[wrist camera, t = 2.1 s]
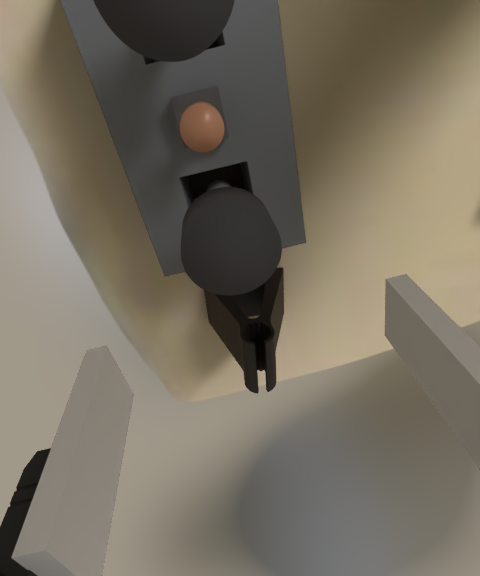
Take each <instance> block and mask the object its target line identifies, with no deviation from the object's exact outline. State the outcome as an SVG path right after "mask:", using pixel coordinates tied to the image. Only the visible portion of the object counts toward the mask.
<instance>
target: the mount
mask: <svg viewBox="0 0 480 576" xmlns="http://www.w3.org/2000/svg"><path fill="white" fill-rule="evenodd" d="M60 1H61V4H62V6H63V9H64V12H65V14H66V17H67V19H68V22H69V25H70V27H71V30H72V33H73V35H74V38H75V41H76V43H77V46H78V48H79V51H80V54H81V56H82V59H83V62H84V64H85V67H86V70H87V72H88V75H89V78H90V80H91V83H92V85H93V88H94V91H95V93H96V96H97V99H98V101H99V104H100V107H101V109H102V112H103V114H104V117H105V120H106V122H107V125H108V128H109V130H110V133H111V136H112V138H113V141H114V144H115V146H116V149H117V151H118V154H119V157H120V159H121V162H122V165H123V167H124V170H125V173H126V175H127V178H128V181H129V183H130V186H131V188H132V191H133V194H134V196H135V199H136V202H137V204H138V207H139V210H140V212H141V215H142V217H143V220H144V223H145V225H146V228H147V231H148V233H149V236H150V239H151V241H152V244H153V247H154V249H155V252H156V254H157V257H158V260H159V262H160V265H161V268H162V270H163V273H164V276H169V275H173V274H177V273H181V272H185V269H184V267H183V264H182V260H181V236H182V223H183V219H184V216H185V213H186V211H187V209H188V208H189V206H190V205H191V204H192V203H193V202H194V200H195V198H194V195H193V191H192V188H191V184H190V181H189V177H188V175H192V174H196V173H200V172H204V171H208V170H213V169H217V168H221V167H225V166H229V165H233V164H237V163H240V164H241V169H242V174H243V179H244V184H245V189H246V191H249V192H250V193H252V194H254V195H255V196H256V197H258V198H259V199H260V200H261V201H262V202H263V204H264V205H265V207H266V208H267V210H268V212H269V214H270V216H271V218H272V220H273V222H274V224H275V226H276V228H277V230H278V232H279V234H280V238H281V244H282V248H286V247H290V246H294V245H298V244H302V243H306V238H305V230H304V221H303V212H302V204H301V195H300V187H299V178H298V170H297V161H296V153H295V144H294V135H293V127H292V118H291V110H290V101H289V93H288V84H287V75H286V67H285V58H284V50H283V41H282V33H281V24H280V15H279V7H278V0H235V1H234V6H233V9H232V12H231V15H230V17H229V20H228V22H227V24H226V26H225V28H224V29H223V31H222V33H221V34H220V35H219V37H218V38H217V39H216V45H217V47H215V48H211V49H207V50H205V51H203V52H202V53H201V54H199V55H197V56H195V57H193V58H191V59H188V60H185V61H179V62H164V61H159V62H156V61H155V60H154V59H151V58H148V57H145V56H143V55H141V54H139V53H137V52H136V51H134V50H132V49H131V48H129V47H128V46H127V45H126V44H124V43H123V42H122V41H121V40H120V39H119V38H118V37H117V36H116V35H115V34H114V33H113V32H112V30H111V29H110V28H109V27H108V25H107V24H106V22H105V21H104V19H103V18H102V16H101V15H100V13H99V11H98V9H97V7H96V5H95V3H94V0H60ZM214 86H218V89H219V93H220V98H221V103H222V108H223V112H224V117H225V122H226V127H227V131H228V136H229V138H228V139H224V140H222V141H221V143H220V144H219V145H218V146H217V147H216V148H215V149H213V150H212V151H209V152H197V151H194V150H192V149H191V148H187V149H184V146H183V142H182V138H181V135H180V131H179V128H178V124H177V120H176V117H175V113H174V110H173V106H172V103H171V97H174V96H178V95H182V94H186V93H190V92H194V91H198V90H202V89H206V88H210V87H214Z"/></svg>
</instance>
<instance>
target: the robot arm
mask: <svg viewBox="0 0 480 576" xmlns="http://www.w3.org/2000/svg"><path fill="white" fill-rule="evenodd" d="M385 336H386V338H387V339H388V340H389V342H390V343H391V345H392V346H393V347H394V349H395V350H396V352H397V353H398V355H399V356H400V357H401V359H402V360H403V361H404V363H405V364H406V366H407V367H408V369H409V370H410V372H411V373H412V374H413V376H414V377H415V378H416V380H417V381H418V383H419V384H420V386H421V387H422V389H423V390H424V391H425V392H426V394H427V396H428V397H429V398H430V400H431V401H432V403H433V404H434V406H435V407H436V408H437V410H438V411H439V413H440V414H441V415H442V417H443V418H444V419H445V421H446V423H447V424H448V425H449V427H450V428H451V430H452V431H453V432H454V434H455V435H456V437H457V438H458V440H459V441H460V442H461V444H462V445H463V447H464V448H465V449H466V451H467V452H468V454H469V455H470V456H471V458H472V459H473V461H474V462H475V464H476V465H477V466H478V468H479V469H480V347H479V346H478V345H477V344H476V343H475V342H474V341H473V340H472V339H471V338H470V337H469V336H468V335H467V334H466V333H465V332H464V331H463V330H462V329H461V328H460V327H459V326H458V325H457V324H456V323H455V322H454V321H453V320H452V319H451V318H450V317H449V316H448V315H447V314H446V313H445V312H444V311H443V310H442V309H441V308H440V307H439V306H438V305H437V304H436V303H435V302H434V301H433V300H432V299H431V298H430V297H429V296H428V295H427V294H426V293H425V292H424V291H423V290H422V289H421V288H420V287H419V286H418V285H417V284H416V283H415V282H414V281H413V280H412V279H411V278H410V277H409V276H408V275H407V274H405V275H401V276H396V277H392V278H388V279H386V294H385ZM132 401H133V392H132V391H131V389H130V387H129V385H128V384H127V382H126V380H125V378H124V376H123V374H122V373H121V371H120V369H119V367H118V365H117V364H116V362H115V360H114V358H113V357H112V355H111V353H110V351H109V349H108V347H107V346H103V347H99V348H95V349H91V350H87V351H86V354H85V356H84V359H83V362H82V365H81V367H80V370H79V373H78V376H77V378H76V381H75V384H74V387H73V389H72V392H71V395H70V398H69V400H68V403H67V406H66V409H65V412H64V414H63V417H62V420H61V422H60V425H59V428H58V431H57V433H56V436H55V439H54V442H53V444H52V447H51V448H50V449H46V450H41V451H37V452H36V454H35V455H34V457H33V458H32V459H31V460H30V462H29V463H28V464H27V466H26V467H25V468H24V470H23V473H22V475H21V478H20V480H19V483H18V485H17V491H16V492H14V495H13V497H12V500H11V502H10V507H8V509H7V512H6V514H5V517H4V519H3V522H2V524H1V526H0V576H102V573H103V567H104V562H105V556H106V550H107V544H108V539H109V533H110V527H111V521H112V516H113V510H114V504H115V499H116V492H117V487H118V481H119V476H120V470H121V464H122V458H123V453H124V446H125V441H126V435H127V429H128V423H129V418H130V412H131V407H132Z"/></svg>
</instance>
